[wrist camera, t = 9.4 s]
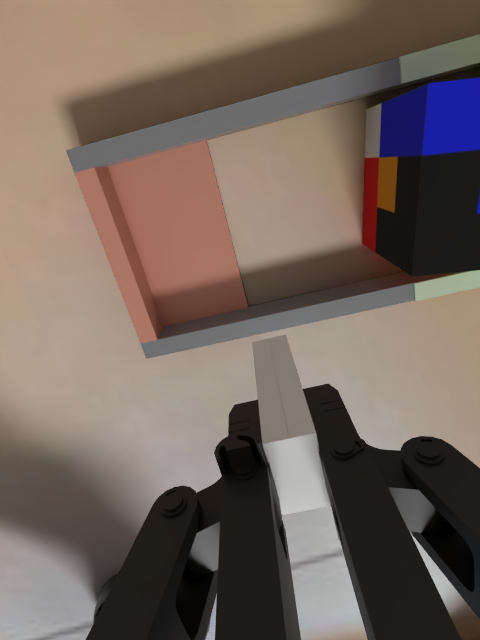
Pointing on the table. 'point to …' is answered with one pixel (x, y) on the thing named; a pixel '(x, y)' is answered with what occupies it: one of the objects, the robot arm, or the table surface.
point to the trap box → (210, 221)
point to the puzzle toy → (425, 178)
